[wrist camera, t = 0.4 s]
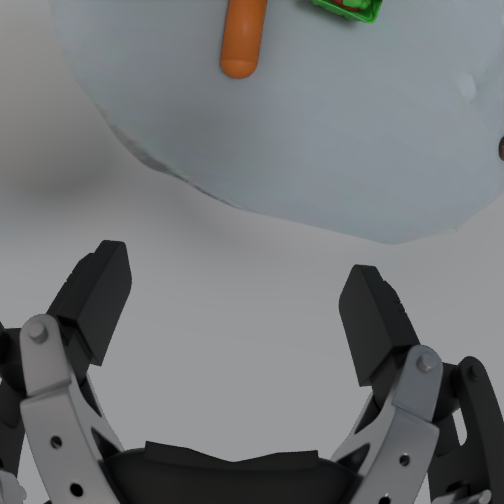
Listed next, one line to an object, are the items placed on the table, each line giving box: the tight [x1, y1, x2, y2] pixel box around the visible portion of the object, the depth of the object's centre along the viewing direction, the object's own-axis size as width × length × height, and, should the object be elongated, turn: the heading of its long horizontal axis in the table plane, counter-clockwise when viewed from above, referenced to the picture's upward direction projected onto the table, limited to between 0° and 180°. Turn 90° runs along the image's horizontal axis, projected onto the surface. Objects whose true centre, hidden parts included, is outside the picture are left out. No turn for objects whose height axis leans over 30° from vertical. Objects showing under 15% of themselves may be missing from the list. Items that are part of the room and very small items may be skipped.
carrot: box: [221, 0, 267, 79], centre depth 21 cm, size 15×4×4 cm, turn 173°
